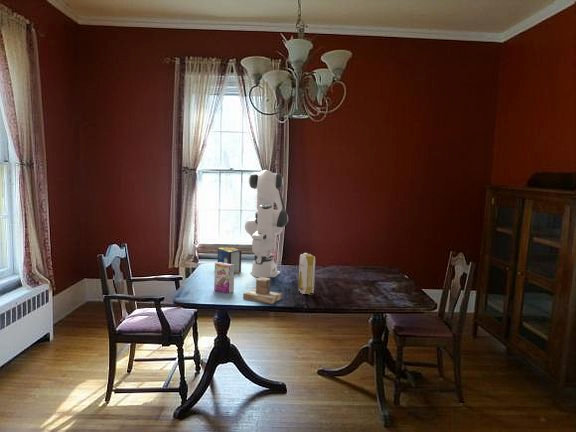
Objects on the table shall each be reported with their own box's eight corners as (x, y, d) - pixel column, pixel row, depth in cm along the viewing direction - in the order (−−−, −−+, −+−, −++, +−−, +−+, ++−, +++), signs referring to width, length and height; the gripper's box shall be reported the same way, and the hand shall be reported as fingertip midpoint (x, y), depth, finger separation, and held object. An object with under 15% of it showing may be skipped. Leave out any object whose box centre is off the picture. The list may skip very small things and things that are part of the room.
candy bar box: (213, 290, 251) (214, 263, 249) (219, 288, 255) (219, 261, 253) (228, 293, 245) (229, 265, 243) (234, 292, 250) (234, 264, 248)
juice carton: (296, 291, 256) (298, 251, 254) (308, 290, 259) (310, 251, 257) (302, 295, 248) (304, 254, 245) (315, 294, 251) (317, 254, 248)
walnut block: (260, 291, 242) (260, 277, 241) (269, 292, 240) (270, 278, 239) (255, 293, 238) (256, 279, 237) (265, 295, 235) (265, 280, 234)
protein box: (229, 267, 310) (230, 246, 308) (241, 272, 298) (241, 250, 297) (216, 269, 303) (217, 247, 302) (228, 274, 292) (228, 251, 290)
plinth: (254, 293, 248) (254, 288, 248) (281, 298, 240) (281, 293, 240) (243, 298, 237) (243, 293, 237) (271, 304, 230) (271, 298, 229)
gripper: (268, 231, 246) (267, 255, 247) (250, 236, 227) (249, 261, 229) (278, 232, 243) (277, 256, 245) (260, 237, 225) (259, 263, 226)
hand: (263, 258), depth 237 cm, fingers open, 8 cm apart
